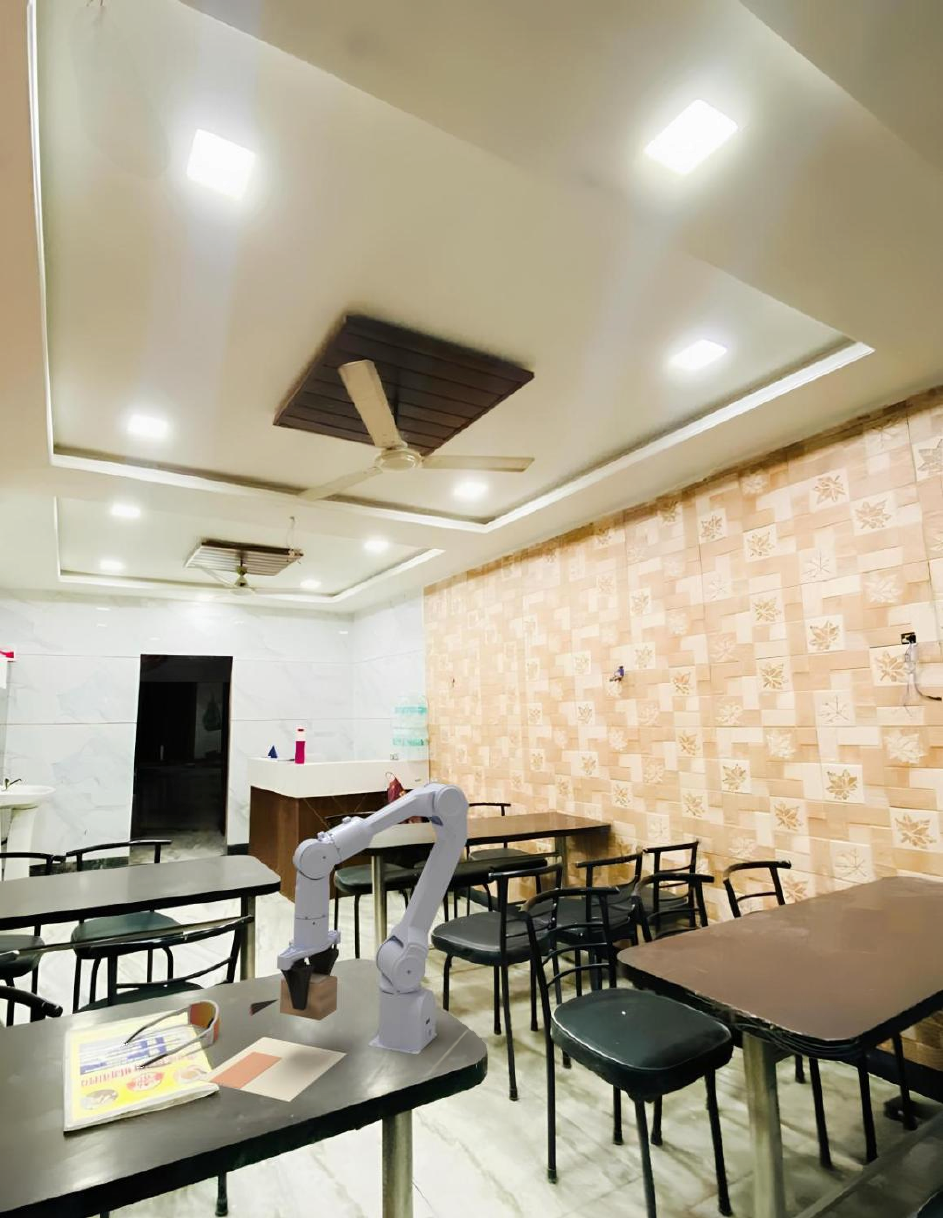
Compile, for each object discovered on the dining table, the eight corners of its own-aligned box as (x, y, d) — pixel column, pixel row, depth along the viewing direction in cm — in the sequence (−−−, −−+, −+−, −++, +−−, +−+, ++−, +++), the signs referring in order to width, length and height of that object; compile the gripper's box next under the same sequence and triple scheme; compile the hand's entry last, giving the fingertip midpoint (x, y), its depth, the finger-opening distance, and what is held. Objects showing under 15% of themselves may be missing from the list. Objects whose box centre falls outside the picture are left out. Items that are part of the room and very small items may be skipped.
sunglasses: (233, 1045, 112) (230, 1015, 113) (137, 1090, 102) (135, 1057, 103) (206, 1018, 123) (204, 991, 123) (117, 1057, 113) (115, 1027, 114)
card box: (336, 1009, 108) (337, 976, 108) (320, 1020, 103) (321, 985, 104) (297, 1002, 111) (298, 969, 112) (279, 1012, 107) (281, 978, 108)
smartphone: (288, 997, 131) (297, 1028, 117) (288, 1002, 130) (297, 1033, 117) (250, 1003, 128) (254, 1035, 114) (249, 1008, 128) (254, 1041, 114)
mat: (346, 1057, 107) (346, 1053, 107) (289, 1106, 93) (289, 1100, 94) (263, 1040, 113) (263, 1036, 113) (198, 1083, 100) (198, 1078, 100)
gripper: (318, 902, 118) (316, 983, 115) (263, 923, 105) (259, 1016, 102) (351, 905, 115) (349, 989, 113) (298, 928, 102) (295, 1023, 100)
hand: (308, 1002), depth 107 cm, fingers closed on card box, 4 cm apart
